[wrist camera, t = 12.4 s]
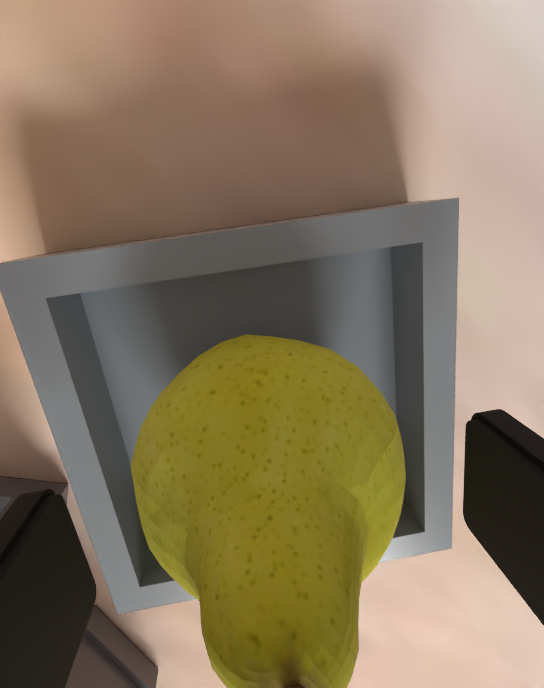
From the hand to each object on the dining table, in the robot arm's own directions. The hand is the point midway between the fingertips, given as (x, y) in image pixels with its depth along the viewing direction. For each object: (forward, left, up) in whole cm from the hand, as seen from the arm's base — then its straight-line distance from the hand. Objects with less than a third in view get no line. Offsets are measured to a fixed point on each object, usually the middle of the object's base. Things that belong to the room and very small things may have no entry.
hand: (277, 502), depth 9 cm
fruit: (0, 0, -5) cm, 5 cm away
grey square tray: (0, 0, -6) cm, 6 cm away
